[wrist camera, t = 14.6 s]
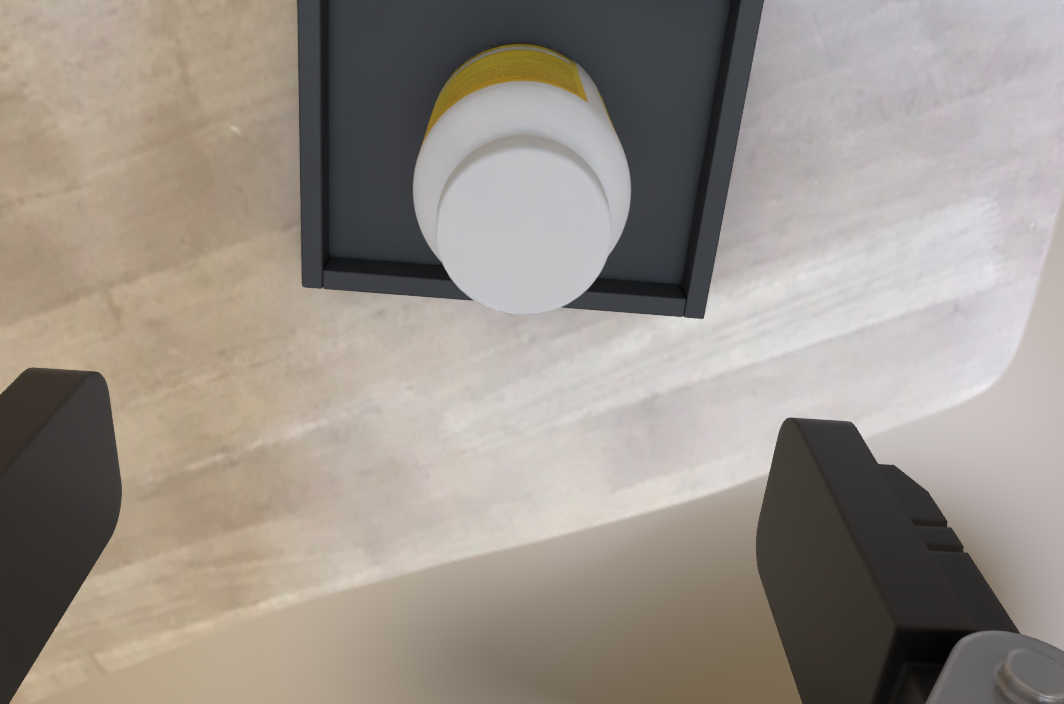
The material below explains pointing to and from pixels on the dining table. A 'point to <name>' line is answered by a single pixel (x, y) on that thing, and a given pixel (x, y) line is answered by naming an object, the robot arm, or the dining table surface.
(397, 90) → the holder
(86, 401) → the robot arm
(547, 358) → the dining table surface
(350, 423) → the dining table surface
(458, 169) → the pill bottle
